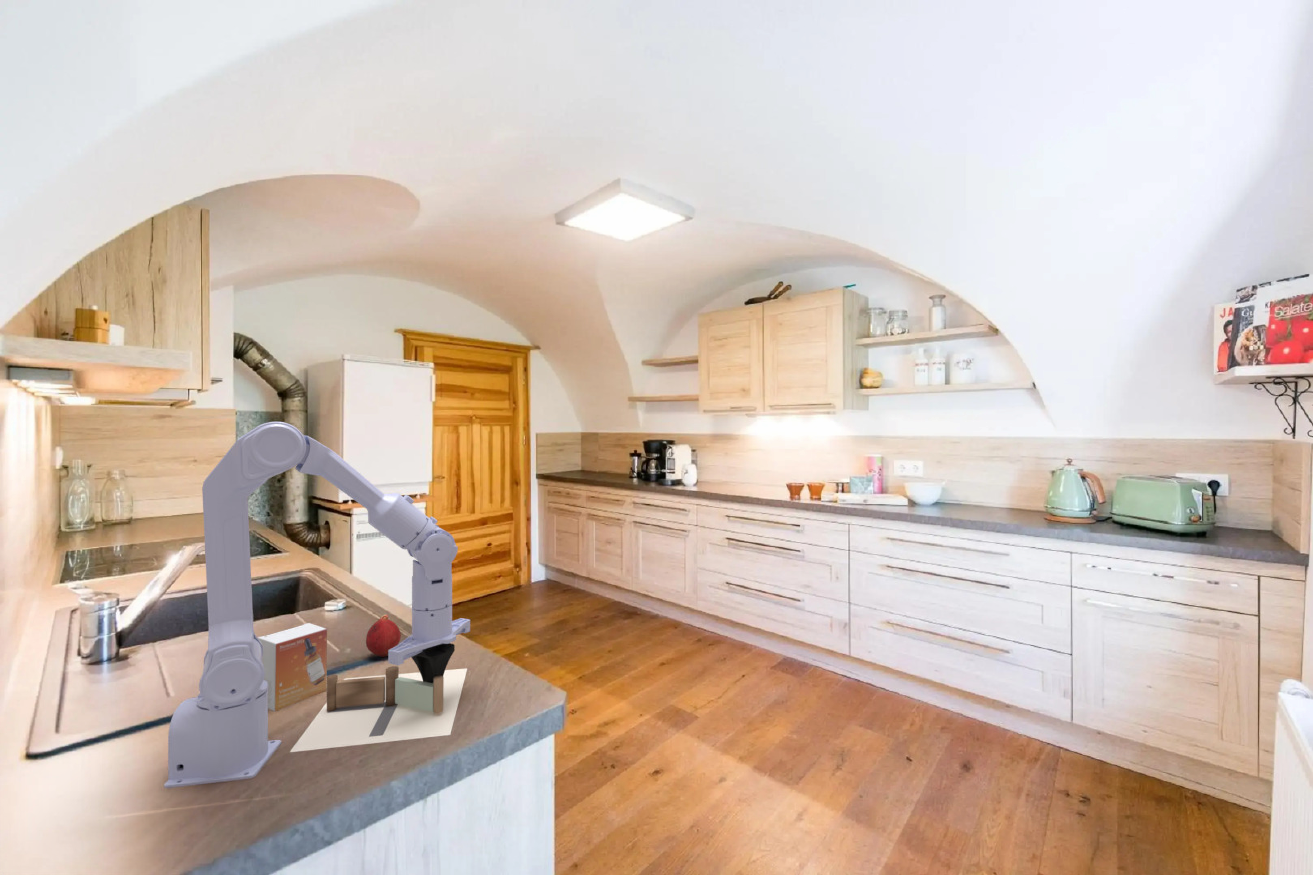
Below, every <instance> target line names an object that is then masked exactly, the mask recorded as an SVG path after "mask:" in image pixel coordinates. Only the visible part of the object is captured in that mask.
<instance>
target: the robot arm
mask: <svg viewBox="0 0 1313 875" xmlns="http://www.w3.org/2000/svg"><path fill="white" fill-rule="evenodd" d="M292 468H295V470H296V471H297V472H299V473H300V474H307V475H311V476H312V475H313V476H316V477H317V476H319V477H322V478H324V479H325V480H326V481H328V482H329V483H330V484H331V485H333V486H334V487H336V488H337V489H338V490H340V491H342V493H344V494H345V495H347V496H348V497H350V498H351V499H352V500H354V501H355V502H356V503H358V504H359V505H360V506H362V507H363V508H365V510H367V519H368V520H367V521H368V525H370V526H371V527H373V528H374V529H375V530H377V531H378V532H379V533H381V534H382V535H383V536H385V538H387V539H388V540H390V541H391V542H393V543H394V544H396V545H397V546H398V547H399V548H401V549H402V550H406V551H407V553H408V555H409V556H410V557H412V558H414V559H413V560H412V576H411V634H410V635H409V636H407V637H406V638H405V639H404V640H402V641H400V642H399V644H398V645H397V646H395V647H394V648H392V649H390V650H388V659H387V660H388V664H390V665H395V666H401V665H402V664H404V663H405V661H406V660H408V659H410V658H411V659H412V661H413V662H414V664H415V665H416V667H417V669H418V671H419V672H420V674H421V676H422V679H423V682H428V683H433V684H434V677H436V676H443V675H444V672H445V670H447V669H446V668H447V666H448V663H449V661H450V660H451V658H452V655H453V654H454V652H455V650H456V649H455V647H456V645H455V644H454V643H453V642H455V641H456V640H457V636H459V635H460V634H462V633H463V634H467V633H469V632H471V619H468V618H462V617H460V618H458V619H457V618H456V619H455V620H453V574H452V566H453V565H452V562H454V560H455V558H456V556H457V554H458V549H459V546H458V545H456V544H457V543H456V542H455V538H454V537H453V535H452V534H451V533H450V532H449V531H447V530H445V529H443V528H441V527H440V526H439V525H438V524H437V523H438V520H437V519H436V518H435V517H433V516H430V517H429V516H428V515H426V514H425V513H424V512H422V511H421V510H420V509H419V508H418V507H416V506H415V505H414V504H413V503H415V500H414V499H413V498H412V497H411V496H410V495H408V494H405V495H404V496H403V495H401V494H400V493H398V492H392V493H384V492H383V491H381V490H380V489H379V488H377V486H375V485H374V484H373V483H371V481H370V480H368V479H367V478H366V477H365V476H364V475H362V474H361V472H358V470H357V469H356V468H354V466H353V467H352V465H351V464H350V463H348V462H347V461H346V460H345V459H343V458H342V456H340V455H339V454H338V453H337V452H335V451H334V450H333V449H331V448H330V447H328V446H326V445H324V444H323V443H321V442H319V441H318V440H316V439H314V438H312V437H310V436H309V435H304V434H303V433H302V432H301V431H300V430H299V429H298V428H297V427H295V426H294V425H292V424H290V423H287V422H283V421H269V422H265V423H262V424H259V425H258V426H256V427H254V428H252V429H250V431H248V432H246V433H245V434H243V435H242V436H240V437H239V438H237V440H236V441H235V442H234V443H233V445H232V446H231V447H230V448H229V449H228V451H227V452H226V453H225V455H224V456H223V457H222V458H221V460H220V461H219V462H218V463H217V464H216V465H215V467H214V468H213V469H212V471H211V472H210V473H209V474H208V476H207V477H206V478H205V479H204V481H203V484H202V490H201V492H202V508H203V509H202V510H203V511H202V513H203V516H202V517H203V530H204V532H203V534H204V553H205V554H204V555H205V558H204V559H205V574H206V575H205V577H206V596H207V597H206V598H207V617H208V618H207V619H208V635H207V636H208V641H207V642H208V644H207V650H206V652H205V654H204V657H203V669H202V674H201V677H200V679H199V682H198V684H199V685H198V690H199V694H198V695H197V696H196V697H191V698H186V699H184V700H183V701H181V703H180V704H179V705H178V706H177V707H176V709H175V711H174V713H173V715H172V717H171V720H170V724H169V728H168V743H167V744H168V746H167V748H168V749H167V750H168V753H167V755H168V758H167V759H168V761H167V762H168V764H167V765H168V768H167V770H168V772H167V773H168V774H167V778H168V780H167V781H166V782H165V783H164V784H163V785H164V786H163V787H164V788H165V789H170V788H179V787H188V786H197V785H205V784H213V783H223V782H224V783H225V782H229V781H231V782H232V781H241V780H247V779H252V778H255V777H256V776H257V775H258V773H259V772H260V771H261V769H263V767H264V766H265V764H266V763H267V762H268V761H269V759H270V758H271V757H272V755H273V754H274V753H275V751H276V750H278V748H279V747H280V746H281V744H282V740H280V739H275V740H274V739H273V740H269V709H268V683H267V681H265V680H264V675H265V670H264V665H263V664H262V656H263V646H262V643H261V641H260V640H259V639H258V637H257V634H256V632H255V630H254V613H253V611H254V610H253V590H252V587H253V586H252V571H251V570H252V567H251V564H252V563H251V544H250V527H249V526H250V523H249V501H248V498H249V497H250V496H251V495H252V494H253V493H254V492H255V491H256V490H257V489H259V488H260V487H261V486H262V485H264V483H266V482H267V481H268V480H269V479H271V478H272V477H273V478H274V477H275V476H277V475H280V474H282V473H284V472H287V471H289V470H291V469H292Z"/></svg>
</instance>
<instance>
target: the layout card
mask: <svg viewBox="0 0 1313 875" xmlns="http://www.w3.org/2000/svg"><path fill="white" fill-rule="evenodd" d="M467 671H468V668H467V667H466V668H457V669H456V668H455V669H445V672H444V675H443V677H444V689H443V712H441V713H434V712H431V711H427V710H422V709H418V708H413V707H409V706H404V705H400V704H397V705H395V706H386V674H383V675H373V676H372V675H370V676H361V677H349V678H344V679H343V680H347V679H359V678H371V677H383V676H385V701H384V703H378V704H368V705H357V706H346V707H337V709H336V710H335V711H331V712H329V711H328V712H327V702H326V703H324V705H323V707H322V708H321V709H320V711H319V712H318V713H317V714H316V716H315V717H314V718H313V719H312V721H311V723H310V724H309V725H308V727H307V728H306V729H305V731H304V732H303V733H302V734H301V736H300V737H299V739H298V740H297V741H296V742H295V744H294V745H293V747H292V748H291V749H290V751H289V753H296V752H297V753H299V752H307V751H308V752H309V751H316V750H317V751H318V750H326V749H333V748H335V749H337V748H344V747H352V746H353V747H355V746H364V745H370V744H371V745H372V744H380V743H389V742H401V741H408V740H409V741H411V740H417V739H427V738H436V737H444V736H451V734H452V730H453V726H454V722H455V718H456V714H457V710H458V706H459V703H460V698H461V695H462V691H463V687H464V682H465V680H466V675H467ZM399 677H403V678H408V679H413V680H418V681H423V679H422V676H421V674H420V671H419V672H409V673H399ZM399 677H398V678H399Z"/></svg>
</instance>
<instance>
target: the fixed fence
mask: <svg viewBox="0 0 1313 875" xmlns="http://www.w3.org/2000/svg"><path fill="white" fill-rule="evenodd" d="M399 674H400V673H399V666H398V665H395V666H389V667H387V668H386V669H385V675H386V706H395V705H397V704H395V679H397V678H398V677H399ZM338 677H339V676H338V674H331V675H328V676H327V688H326V703H327V712H328V711H329V712H331V711H335V710H336V709H337V707H346V706H357V705H368V704H378V703H384V701H385V676H383V677H371V678H359V679H347V680H344V679H339V680H338Z"/></svg>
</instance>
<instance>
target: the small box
mask: <svg viewBox="0 0 1313 875" xmlns="http://www.w3.org/2000/svg"><path fill="white" fill-rule="evenodd" d="M257 638H258V639H259V640H260V641H261V643H262V646H263V656H262V664H263V665H264V670H265V675H264V680H265V681H267V683H268V710H270V711H271V712H277V711H279V710H281V709H284V708H286V707H290V706H291V705H294V704H296V703H299V702H301V701H304V700H307V699H309V698H311V697H315V696H317V695H319V694H322V693H324V692H327V677H328V676H327V675H328V674H327V671H328V670H327V668H328V667H327V666H328V663H327V661H328V628H325V627H323V626H320V625H316V624H313V623H310V622H307V623H304V624H301V625H299V626H295V627H293V628H292V627H291V628H289V629H285V630H281V631H278V632H277V631H276V632H275V633H271V634H267V635H263V636H258V637H257Z"/></svg>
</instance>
